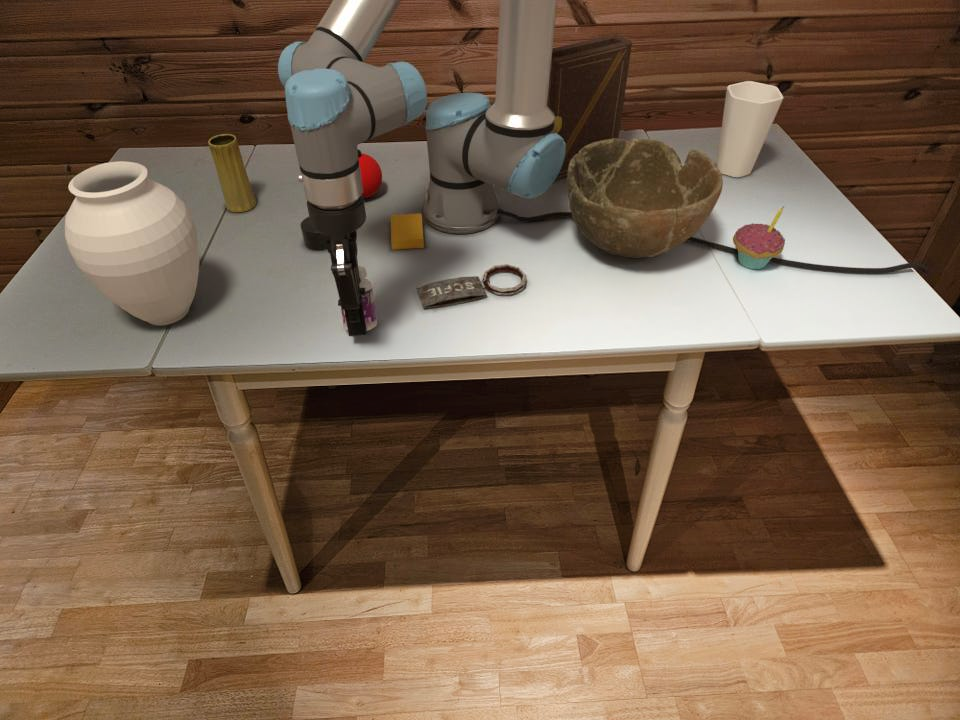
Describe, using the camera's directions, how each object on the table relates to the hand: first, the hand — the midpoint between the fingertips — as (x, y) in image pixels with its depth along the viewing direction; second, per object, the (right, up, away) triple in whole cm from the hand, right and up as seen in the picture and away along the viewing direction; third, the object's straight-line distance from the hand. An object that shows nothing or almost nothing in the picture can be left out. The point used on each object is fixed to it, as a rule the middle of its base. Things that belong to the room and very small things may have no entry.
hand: (357, 332), depth 103 cm
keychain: (+18, +8, +12) cm, 23 cm away
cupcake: (+69, +13, +16) cm, 72 cm away
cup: (+75, +37, +41) cm, 93 cm away
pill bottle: (0, +1, +3) cm, 3 cm away
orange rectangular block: (+5, +20, +24) cm, 32 cm away
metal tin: (-11, +19, +23) cm, 31 cm away
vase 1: (-34, +4, +8) cm, 35 cm away
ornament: (-6, +30, +35) cm, 47 cm away
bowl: (+48, +18, +22) cm, 55 cm away
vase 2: (-30, +28, +33) cm, 53 cm away
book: (+40, +39, +43) cm, 70 cm away
